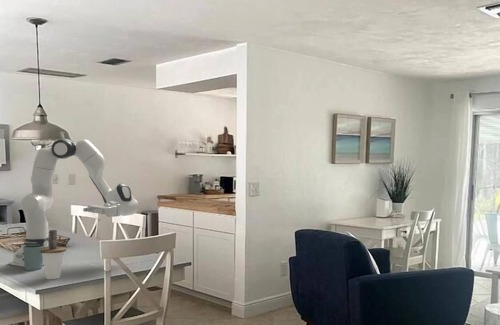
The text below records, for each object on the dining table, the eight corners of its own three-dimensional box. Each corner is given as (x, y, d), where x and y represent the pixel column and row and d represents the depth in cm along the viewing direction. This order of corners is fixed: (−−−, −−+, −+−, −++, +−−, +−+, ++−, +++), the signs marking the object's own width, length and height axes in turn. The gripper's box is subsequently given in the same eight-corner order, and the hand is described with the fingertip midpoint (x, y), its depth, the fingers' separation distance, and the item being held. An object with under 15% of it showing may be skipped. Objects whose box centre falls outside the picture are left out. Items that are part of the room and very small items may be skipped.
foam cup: (46, 275, 239) (46, 249, 239) (65, 275, 240) (65, 248, 240) (39, 280, 230) (39, 252, 230) (59, 279, 230) (59, 252, 230)
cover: (33, 252, 230) (34, 231, 230) (49, 248, 242) (49, 228, 242) (56, 253, 228) (56, 232, 228) (71, 249, 239) (71, 229, 239)
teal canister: (19, 270, 250) (19, 247, 249) (30, 266, 260) (30, 243, 260) (37, 271, 248) (37, 247, 248) (48, 266, 258) (48, 244, 258)
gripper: (101, 201, 273) (78, 203, 262) (121, 204, 259) (98, 206, 249) (101, 213, 273) (78, 214, 262) (121, 216, 259) (98, 218, 249)
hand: (88, 210), depth 255 cm, fingers open, 8 cm apart
